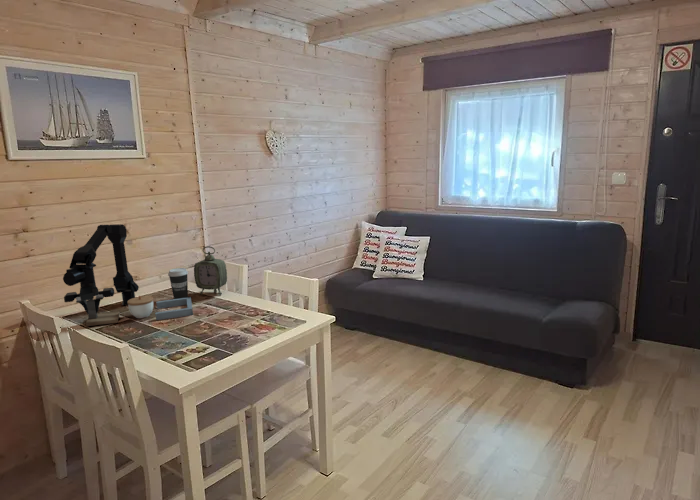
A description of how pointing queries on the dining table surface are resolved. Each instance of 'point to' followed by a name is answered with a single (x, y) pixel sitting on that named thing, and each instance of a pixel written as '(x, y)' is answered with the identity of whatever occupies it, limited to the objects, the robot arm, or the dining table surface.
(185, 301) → the slate frame
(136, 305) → the lidded jar
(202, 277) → the tabletop clock
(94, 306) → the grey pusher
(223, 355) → the dining table surface
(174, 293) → the coffee cup
